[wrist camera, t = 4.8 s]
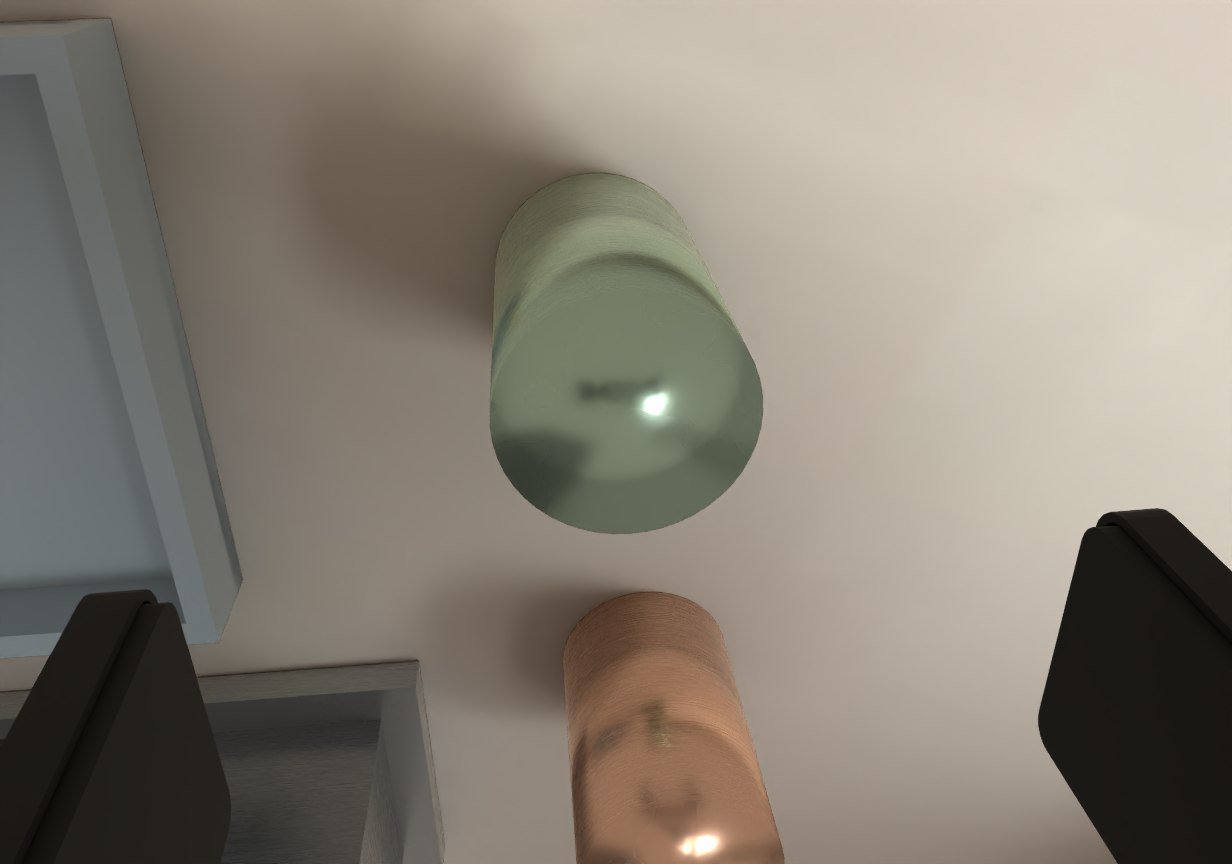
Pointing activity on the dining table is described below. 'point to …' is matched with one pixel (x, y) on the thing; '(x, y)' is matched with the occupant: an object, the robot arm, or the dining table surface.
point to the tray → (93, 359)
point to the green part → (615, 361)
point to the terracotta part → (661, 740)
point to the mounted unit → (321, 764)
